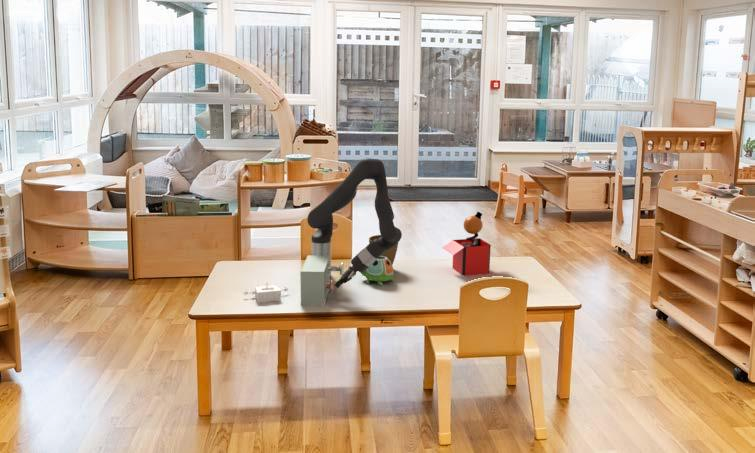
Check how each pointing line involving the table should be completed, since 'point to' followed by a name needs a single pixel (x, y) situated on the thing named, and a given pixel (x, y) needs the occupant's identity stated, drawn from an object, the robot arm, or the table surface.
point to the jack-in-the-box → (470, 250)
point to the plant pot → (388, 253)
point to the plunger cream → (337, 268)
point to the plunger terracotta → (330, 286)
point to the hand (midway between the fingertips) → (336, 286)
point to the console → (315, 280)
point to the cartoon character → (267, 293)
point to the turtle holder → (379, 271)
